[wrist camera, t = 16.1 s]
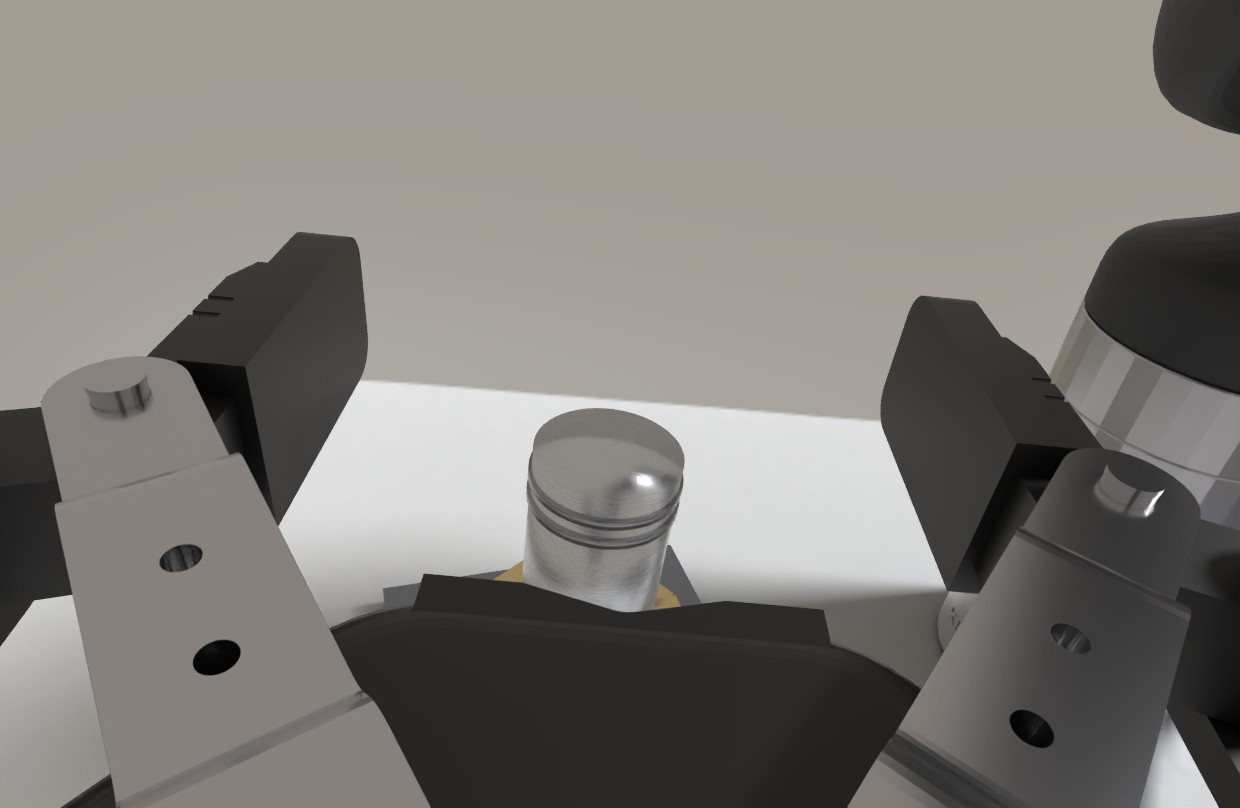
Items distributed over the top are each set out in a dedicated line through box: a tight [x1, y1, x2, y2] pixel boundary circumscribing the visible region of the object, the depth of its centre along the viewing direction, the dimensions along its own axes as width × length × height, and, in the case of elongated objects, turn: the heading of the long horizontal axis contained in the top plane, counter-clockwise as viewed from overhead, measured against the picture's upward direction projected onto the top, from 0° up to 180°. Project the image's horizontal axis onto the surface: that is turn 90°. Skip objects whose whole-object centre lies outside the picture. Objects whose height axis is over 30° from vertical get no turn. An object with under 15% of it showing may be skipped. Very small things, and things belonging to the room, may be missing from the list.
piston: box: [522, 408, 684, 612], centre depth 30 cm, size 5×5×12 cm
